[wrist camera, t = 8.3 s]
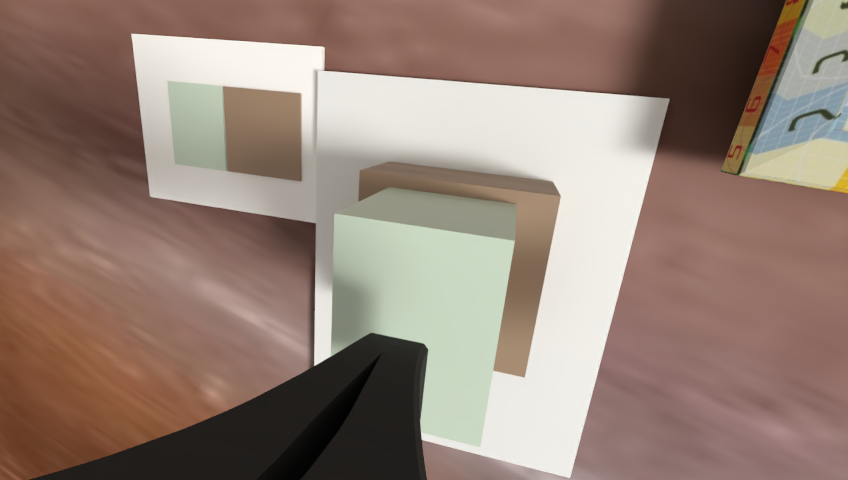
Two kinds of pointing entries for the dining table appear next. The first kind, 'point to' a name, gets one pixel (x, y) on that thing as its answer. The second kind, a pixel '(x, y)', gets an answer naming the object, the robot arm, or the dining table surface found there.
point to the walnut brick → (529, 248)
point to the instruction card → (230, 123)
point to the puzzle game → (799, 102)
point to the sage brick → (428, 292)
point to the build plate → (517, 157)
